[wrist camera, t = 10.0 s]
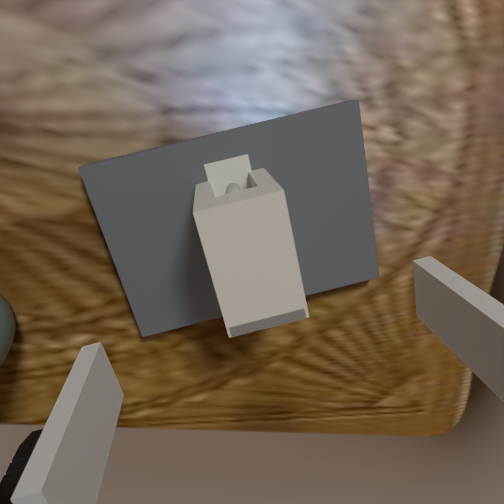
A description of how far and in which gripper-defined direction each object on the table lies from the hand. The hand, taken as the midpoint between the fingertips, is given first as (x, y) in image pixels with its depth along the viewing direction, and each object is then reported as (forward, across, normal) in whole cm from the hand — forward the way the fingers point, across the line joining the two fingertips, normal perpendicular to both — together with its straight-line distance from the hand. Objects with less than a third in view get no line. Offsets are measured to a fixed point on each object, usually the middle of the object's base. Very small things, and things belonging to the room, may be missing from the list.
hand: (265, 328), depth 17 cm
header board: (+16, 0, 0) cm, 16 cm away
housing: (+15, 0, 0) cm, 15 cm away
